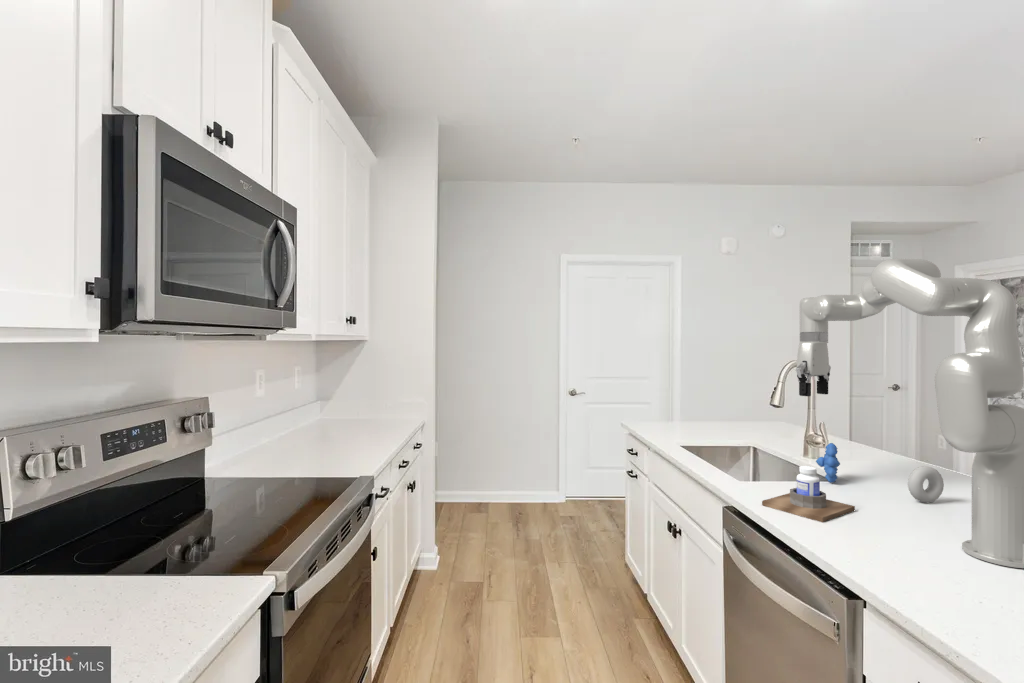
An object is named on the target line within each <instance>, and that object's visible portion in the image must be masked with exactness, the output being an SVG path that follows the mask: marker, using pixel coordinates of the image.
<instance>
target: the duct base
mask: <svg viewBox="0 0 1024 683" xmlns="http://www.w3.org/2000/svg"><path fill="white" fill-rule="evenodd" d="M761 502H762V503H761V506H763V507H767V508H771V509H775V510H778V511H780V512H786V513H789V514H792V515H796V516H800V517H803V518H805V517H806V519H810V520H812V521H817V522H819V523H820V522H821V523H824V522H828V521H830V519H831V520H833V519H836V518H839V517H842V516H844V515H843V514H845V515H847V514H850V513H853V512H855V511H856V505H850V504H847V503H843V502H839V501H835V500H831V499H827V494H826V492H825V491H824V492H823V491H822V490H820V496H806V495H801V494H797V487H793V488H790V489H789V492H788V493H785V494H782V495H778V496H774V497H771V498H768V499H764V500H761ZM854 510H855V511H854ZM852 511H853V512H852ZM849 512H850V513H849ZM846 513H847V514H846ZM841 515H842V516H841ZM838 516H839V517H838ZM835 517H836V518H835ZM827 520H828V521H827Z"/></svg>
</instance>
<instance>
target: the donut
mask: <svg viewBox="0 0 1024 683" xmlns="http://www.w3.org/2000/svg"><path fill="white" fill-rule="evenodd" d="M907 479H908V480H907V488H908V491H909V493H910V495H911V496H912V497H913V498H914V499H915V500H917V501H919V502H921V503H926V502H929V503H933V502H935V501H937V500H938V499H939V498H940V497H941V495H942V494H943V491H944V487H945V486H944V484H945V483H944V479H943V476H942V474H941V473H940V472H939V471H938V470H937V469H935V468H934V467H932V466H926V465H923V466H919V467H916V468H915V469H914V470H913V471H912V472H910V475H909V476H908V478H907ZM926 480H927V482H928V483H927V484H928V485H927V487H926V489H924V482H925V481H926Z"/></svg>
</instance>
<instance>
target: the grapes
mask: <svg viewBox="0 0 1024 683" xmlns="http://www.w3.org/2000/svg"><path fill="white" fill-rule="evenodd" d="M824 452H825V454H824V456H820V457H818V458H817V459H816V460H815V463H816V464H817V465H818V466H819V467H820V468H823V470H824V472H825V476H824V478H825V480H827V482H829V483H832V484H833V483H835V482H836V481H837V480H838V476H837V473H838V467H839V466H840V465H841V462H840V460H839V459H838V458H837V454H838V446H837V445H835V443H833V442H830V443H828V444H827V445H826V446H825V450H824Z"/></svg>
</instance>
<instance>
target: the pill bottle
mask: <svg viewBox="0 0 1024 683" xmlns="http://www.w3.org/2000/svg"><path fill="white" fill-rule="evenodd" d="M798 468H799V473H798V474H797V475H796V488H797V494H801V495H806V496H820V491H821V490H820V489H821V488H820V487H821V486H820V478H819V476H817V468H816V467H815V466H814V467H813V466H808V465H800V466H799V467H798Z"/></svg>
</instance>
